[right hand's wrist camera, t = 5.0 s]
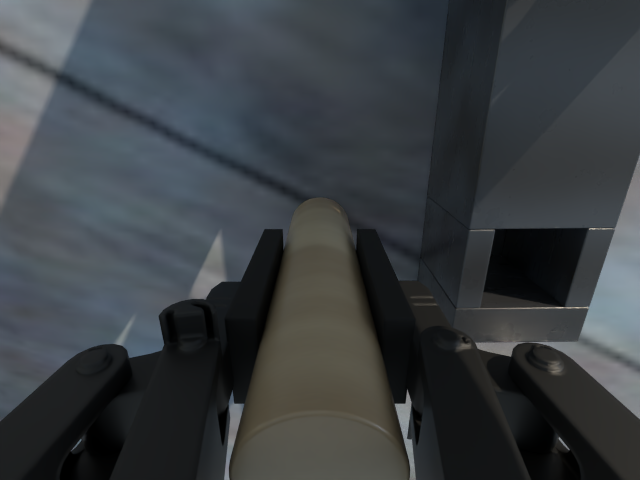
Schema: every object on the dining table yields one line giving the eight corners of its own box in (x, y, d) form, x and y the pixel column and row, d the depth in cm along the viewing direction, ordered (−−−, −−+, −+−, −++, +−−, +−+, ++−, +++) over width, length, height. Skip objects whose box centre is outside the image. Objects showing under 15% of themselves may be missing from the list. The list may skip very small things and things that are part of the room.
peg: (347, 251, 20) (402, 537, 7) (292, 251, 20) (236, 537, 7) (349, 196, 18) (420, 413, 5) (290, 196, 18) (218, 413, 5)
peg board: (513, 283, 23) (578, 341, 17) (417, 284, 23) (450, 343, 17) (634, -244, 14) (853, -483, 8) (476, -244, 14) (586, -484, 8)
